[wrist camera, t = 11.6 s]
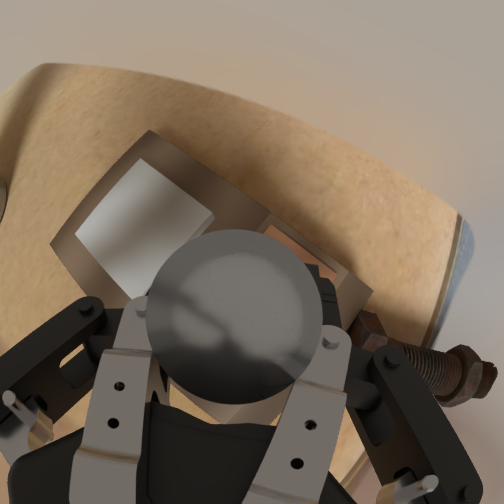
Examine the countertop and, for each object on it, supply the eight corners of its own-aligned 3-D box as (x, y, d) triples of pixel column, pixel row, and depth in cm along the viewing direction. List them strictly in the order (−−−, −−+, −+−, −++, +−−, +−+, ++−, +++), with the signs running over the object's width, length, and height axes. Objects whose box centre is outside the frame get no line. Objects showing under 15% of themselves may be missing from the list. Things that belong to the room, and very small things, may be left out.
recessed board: (70, 253, 20) (41, 240, 16) (160, 150, 22) (145, 122, 18) (251, 427, 16) (249, 450, 13) (357, 295, 19) (379, 288, 15)
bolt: (458, 383, 18) (323, 356, 19) (487, 339, 17) (351, 298, 18) (482, 423, 12) (328, 412, 13) (518, 375, 11) (371, 345, 12)
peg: (199, 326, 16) (115, 323, 6) (243, 273, 16) (221, 197, 7) (253, 369, 15) (245, 436, 5) (297, 316, 16) (356, 300, 6)
